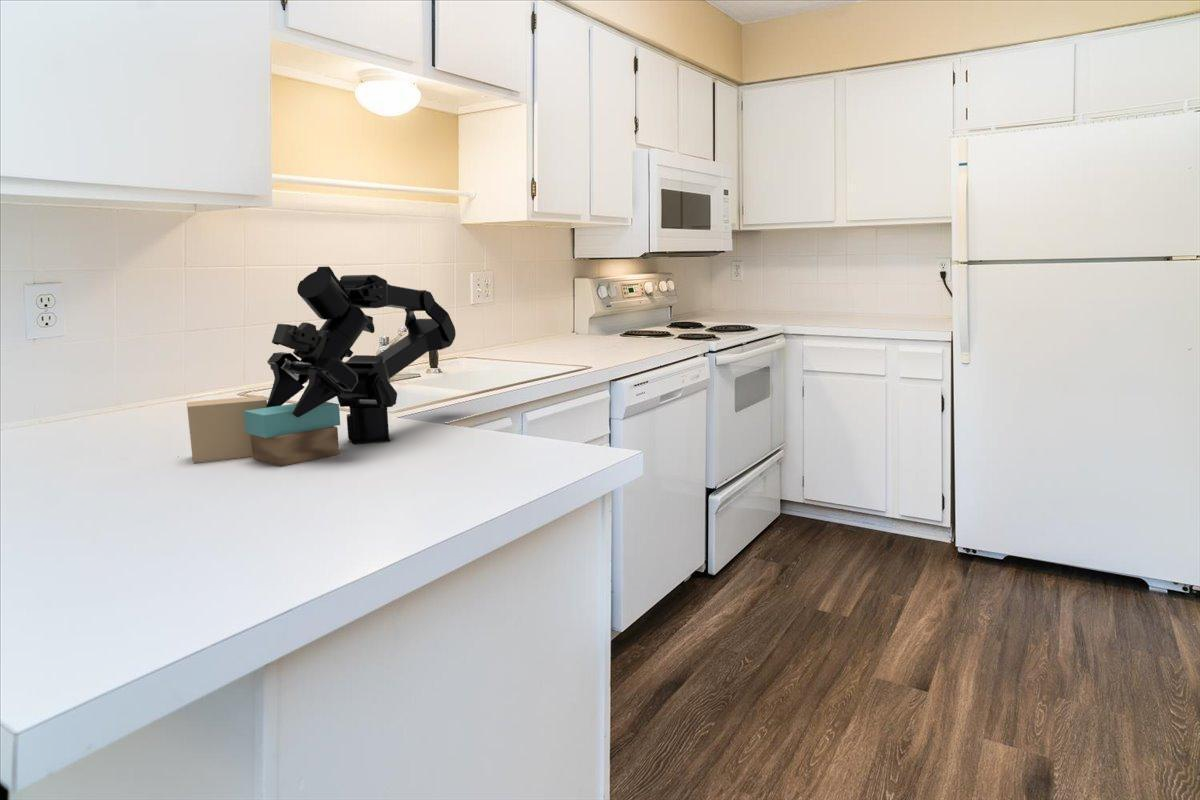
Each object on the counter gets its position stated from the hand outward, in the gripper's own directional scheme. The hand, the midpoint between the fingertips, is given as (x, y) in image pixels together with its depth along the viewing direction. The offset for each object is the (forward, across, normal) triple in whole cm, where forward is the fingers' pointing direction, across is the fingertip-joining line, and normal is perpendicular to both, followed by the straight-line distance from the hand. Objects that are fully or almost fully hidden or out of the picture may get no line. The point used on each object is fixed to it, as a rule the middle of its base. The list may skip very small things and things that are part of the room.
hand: (281, 413), depth 124 cm
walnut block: (+4, 0, +6) cm, 8 cm away
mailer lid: (+1, 0, +3) cm, 3 cm away
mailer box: (+8, -10, +2) cm, 13 cm away
